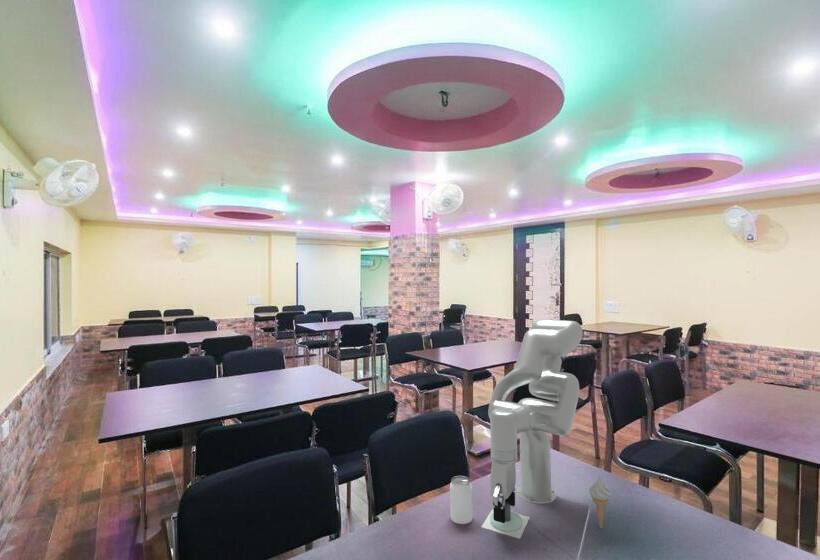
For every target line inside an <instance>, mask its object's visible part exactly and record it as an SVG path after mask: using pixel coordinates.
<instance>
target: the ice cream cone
mask: <svg viewBox="0 0 820 560" xmlns="http://www.w3.org/2000/svg"><path fill="white" fill-rule="evenodd" d="M589 495H590V496H591V498H592V499H591V501H593V503H595V505H596V512H597V519H598V526H599V527H598V528H599V529H600V530H602V529H603V523H604V515H605V506H606V505H608V504H609V500H610V499H611V496H612V493H610V490H609V488H608V487H607V486H606V484H605V483H604V481H603V480H602V478H601V476H600V475H599V476H598V477H597V480H596V481H595V482H593V484H592V486H591V487H590V488H589Z"/></svg>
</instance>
